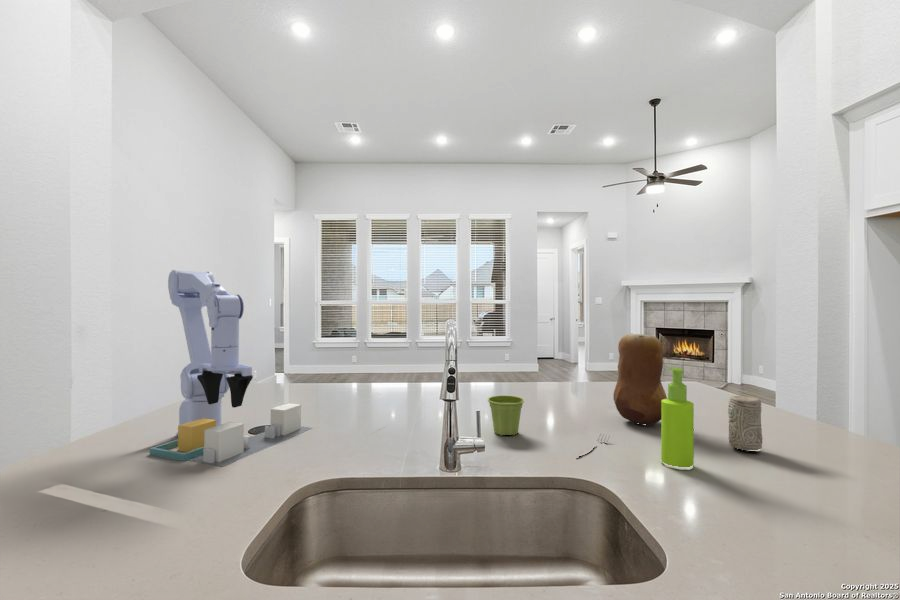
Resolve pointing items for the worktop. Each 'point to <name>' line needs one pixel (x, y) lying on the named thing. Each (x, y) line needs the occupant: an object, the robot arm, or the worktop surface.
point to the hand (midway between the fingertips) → (224, 404)
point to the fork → (602, 437)
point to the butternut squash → (639, 379)
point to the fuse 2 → (287, 417)
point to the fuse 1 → (225, 440)
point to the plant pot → (506, 413)
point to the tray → (166, 453)
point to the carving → (745, 423)
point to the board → (250, 445)
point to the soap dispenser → (677, 424)
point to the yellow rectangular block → (193, 434)
